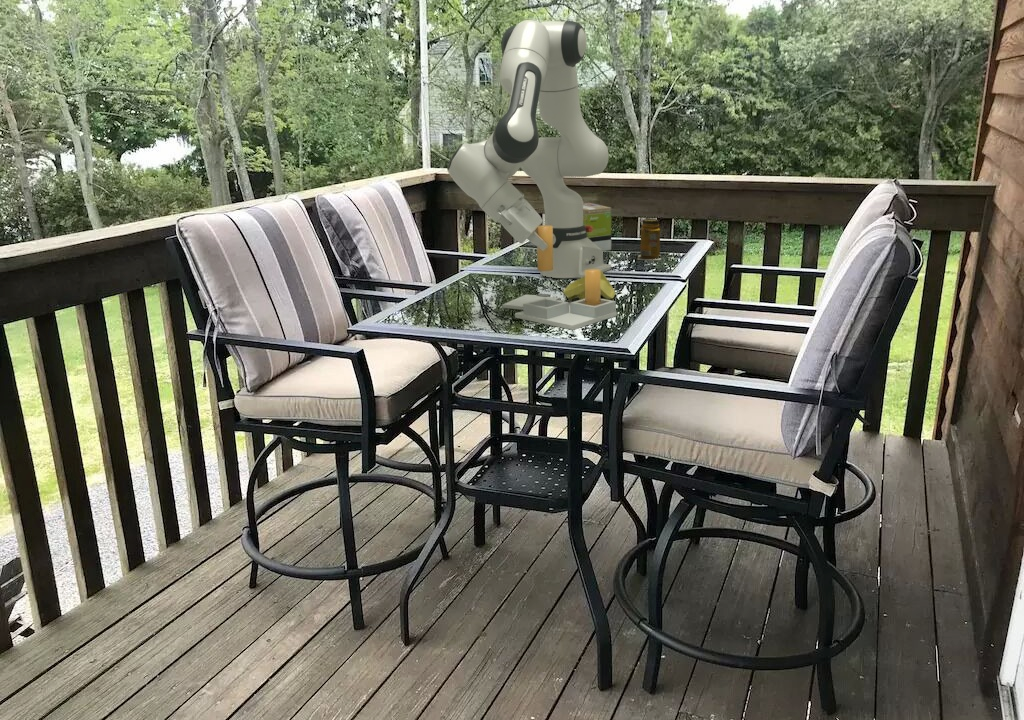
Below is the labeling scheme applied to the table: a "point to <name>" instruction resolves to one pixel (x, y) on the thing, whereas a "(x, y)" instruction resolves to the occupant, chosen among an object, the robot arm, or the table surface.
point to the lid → (526, 300)
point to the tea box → (598, 224)
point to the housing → (572, 307)
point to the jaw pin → (547, 255)
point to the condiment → (650, 240)
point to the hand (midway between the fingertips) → (547, 246)
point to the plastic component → (578, 289)
